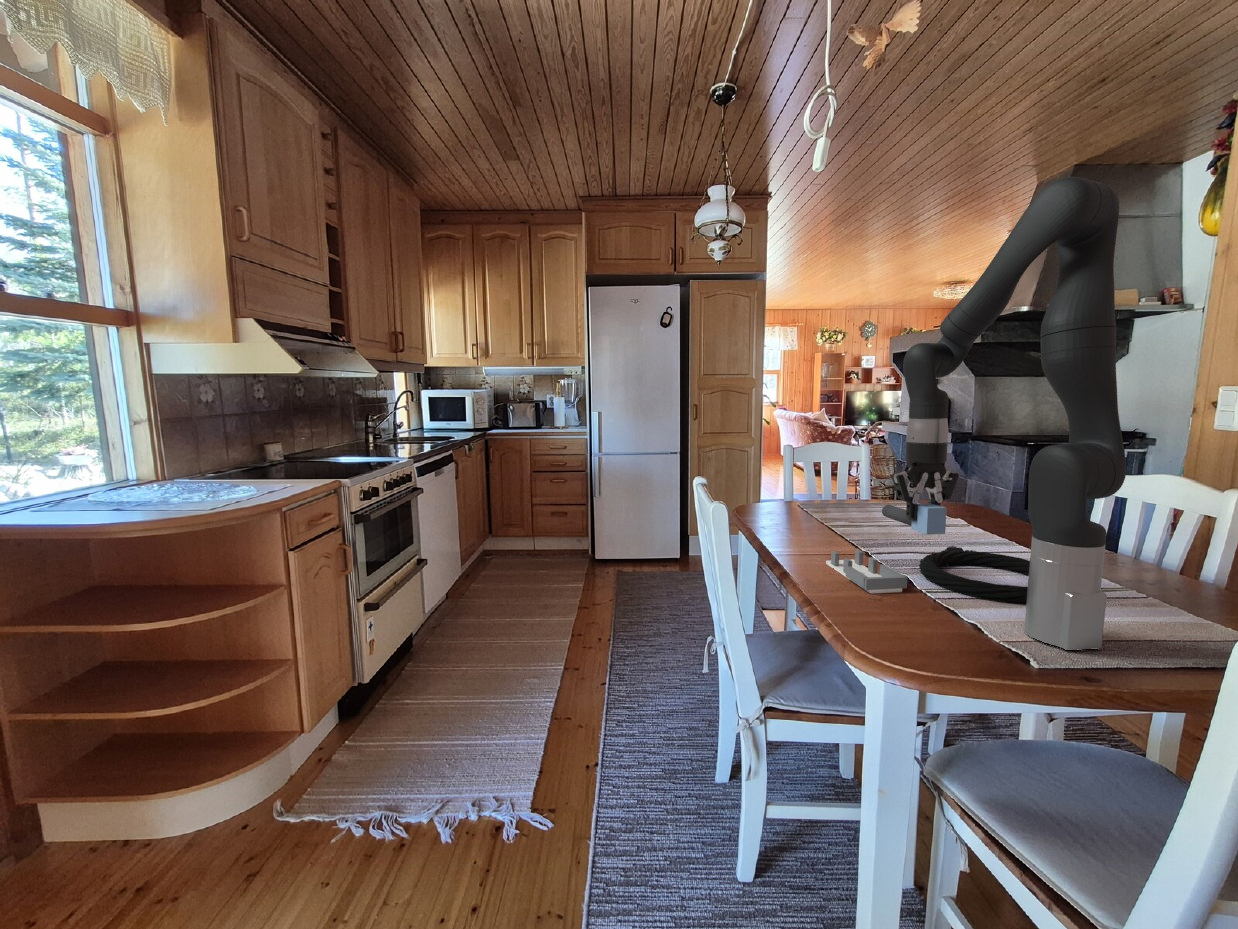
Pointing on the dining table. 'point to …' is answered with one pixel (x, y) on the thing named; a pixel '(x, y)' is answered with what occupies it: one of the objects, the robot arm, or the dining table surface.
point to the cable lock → (975, 587)
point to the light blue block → (920, 518)
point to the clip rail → (868, 574)
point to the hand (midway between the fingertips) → (922, 519)
